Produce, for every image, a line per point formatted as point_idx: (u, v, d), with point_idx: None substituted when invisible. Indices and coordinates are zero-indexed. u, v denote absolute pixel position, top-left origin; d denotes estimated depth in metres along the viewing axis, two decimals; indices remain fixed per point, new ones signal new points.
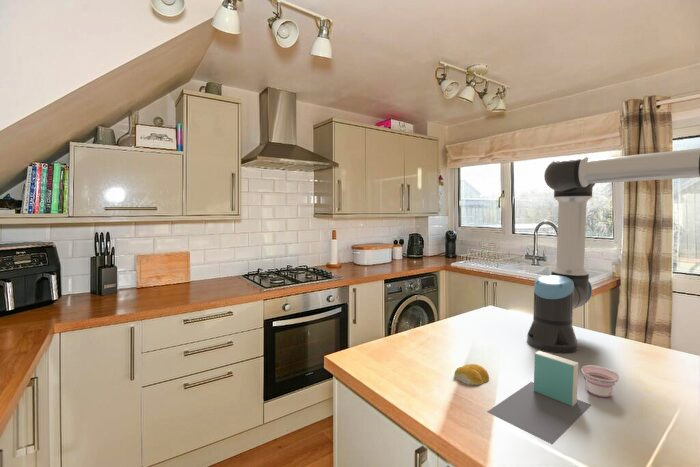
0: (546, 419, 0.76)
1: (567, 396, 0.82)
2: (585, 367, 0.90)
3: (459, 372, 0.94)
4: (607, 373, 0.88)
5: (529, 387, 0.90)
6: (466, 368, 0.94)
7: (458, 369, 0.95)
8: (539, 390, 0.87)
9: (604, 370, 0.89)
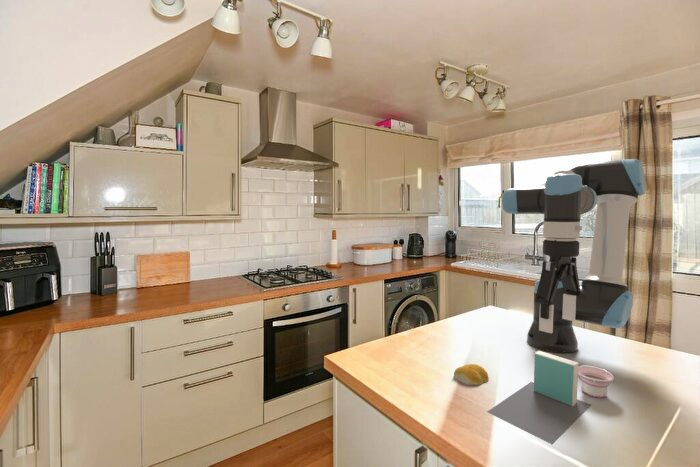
0: (546, 419, 0.76)
1: (567, 396, 0.82)
2: (580, 367, 0.90)
3: (458, 372, 0.94)
4: (602, 373, 0.88)
5: (529, 387, 0.90)
6: (465, 368, 0.94)
7: (457, 369, 0.95)
8: (539, 390, 0.87)
9: (599, 371, 0.89)
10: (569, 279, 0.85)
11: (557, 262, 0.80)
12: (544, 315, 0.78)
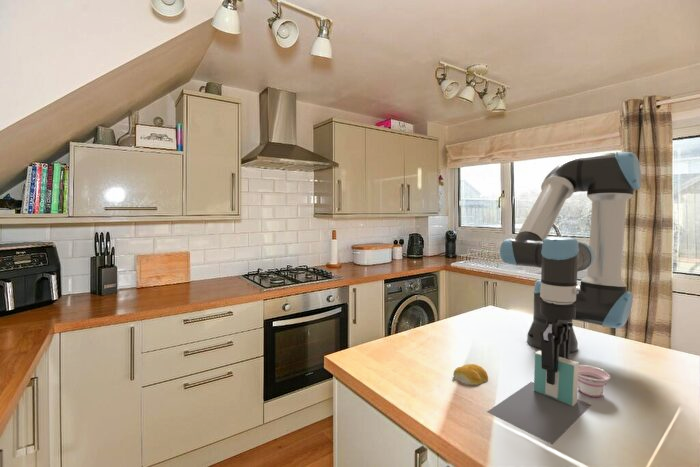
0: (546, 419, 0.76)
1: (567, 396, 0.82)
2: None
3: (458, 372, 0.94)
4: (598, 372, 0.88)
5: (529, 387, 0.90)
6: (465, 368, 0.94)
7: (457, 369, 0.95)
8: (539, 390, 0.87)
9: (595, 370, 0.89)
10: (562, 343, 0.84)
11: (553, 327, 0.81)
12: (550, 381, 0.83)
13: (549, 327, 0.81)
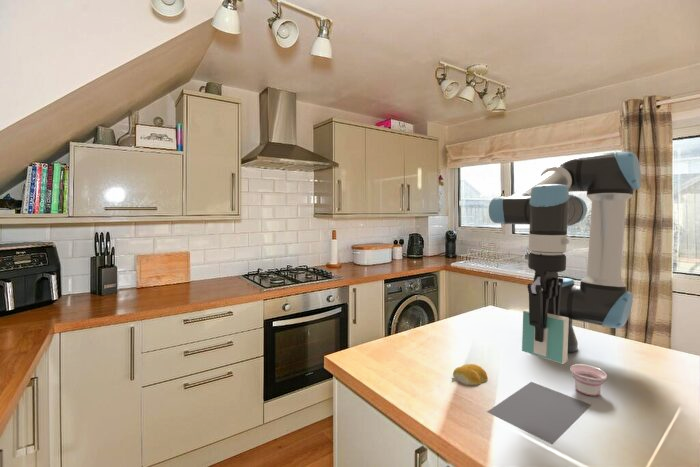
0: (546, 419, 0.76)
1: (557, 353, 0.76)
2: (574, 366, 0.90)
3: (457, 372, 0.94)
4: (595, 371, 0.89)
5: (529, 387, 0.90)
6: (465, 368, 0.94)
7: (457, 369, 0.95)
8: (527, 350, 0.82)
9: (592, 369, 0.89)
10: (552, 299, 0.79)
11: (542, 280, 0.76)
12: (538, 338, 0.78)
13: (537, 280, 0.76)
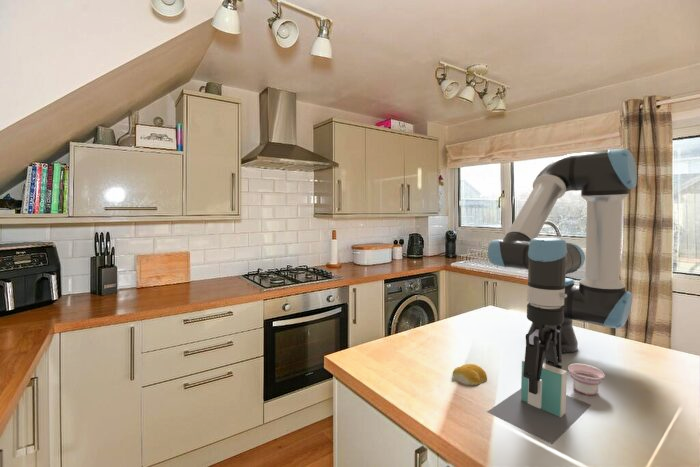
0: (546, 419, 0.76)
1: (555, 406, 0.77)
2: (572, 365, 0.91)
3: (457, 372, 0.94)
4: (593, 370, 0.89)
5: None
6: (464, 368, 0.94)
7: (456, 369, 0.95)
8: (526, 399, 0.83)
9: (590, 368, 0.90)
10: (552, 348, 0.81)
11: (540, 332, 0.76)
12: (532, 390, 0.77)
13: (536, 331, 0.77)
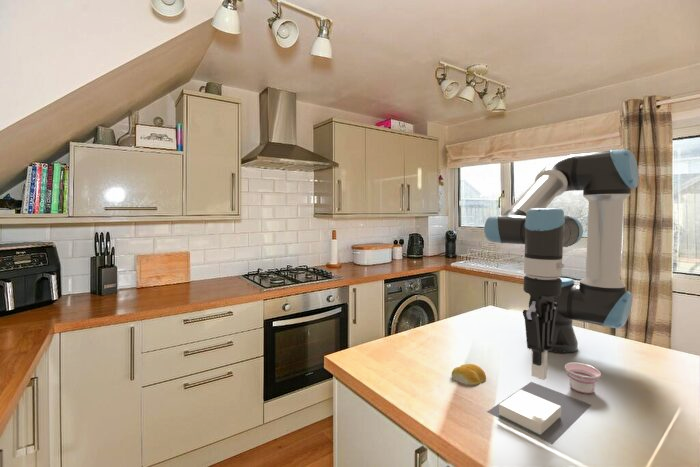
0: None
1: None
2: (568, 364, 0.91)
3: (456, 372, 0.94)
4: (589, 369, 0.90)
5: (529, 387, 0.90)
6: (463, 368, 0.94)
7: (455, 369, 0.95)
8: None
9: (586, 367, 0.90)
10: (546, 323, 0.78)
11: (537, 305, 0.75)
12: (536, 361, 0.78)
13: (532, 305, 0.75)
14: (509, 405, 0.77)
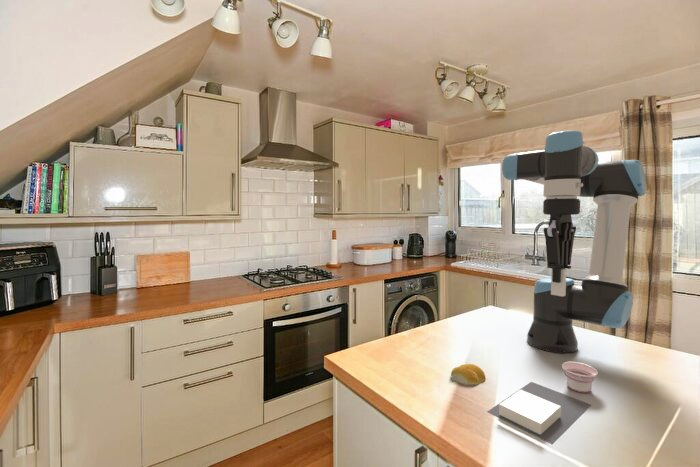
0: None
1: None
2: (565, 363, 0.92)
3: (455, 372, 0.94)
4: (586, 368, 0.90)
5: (529, 387, 0.90)
6: (463, 368, 0.94)
7: (455, 369, 0.95)
8: None
9: (583, 366, 0.91)
10: (565, 243, 0.82)
11: (557, 222, 0.79)
12: (556, 279, 0.82)
13: (553, 223, 0.80)
14: (509, 405, 0.77)
